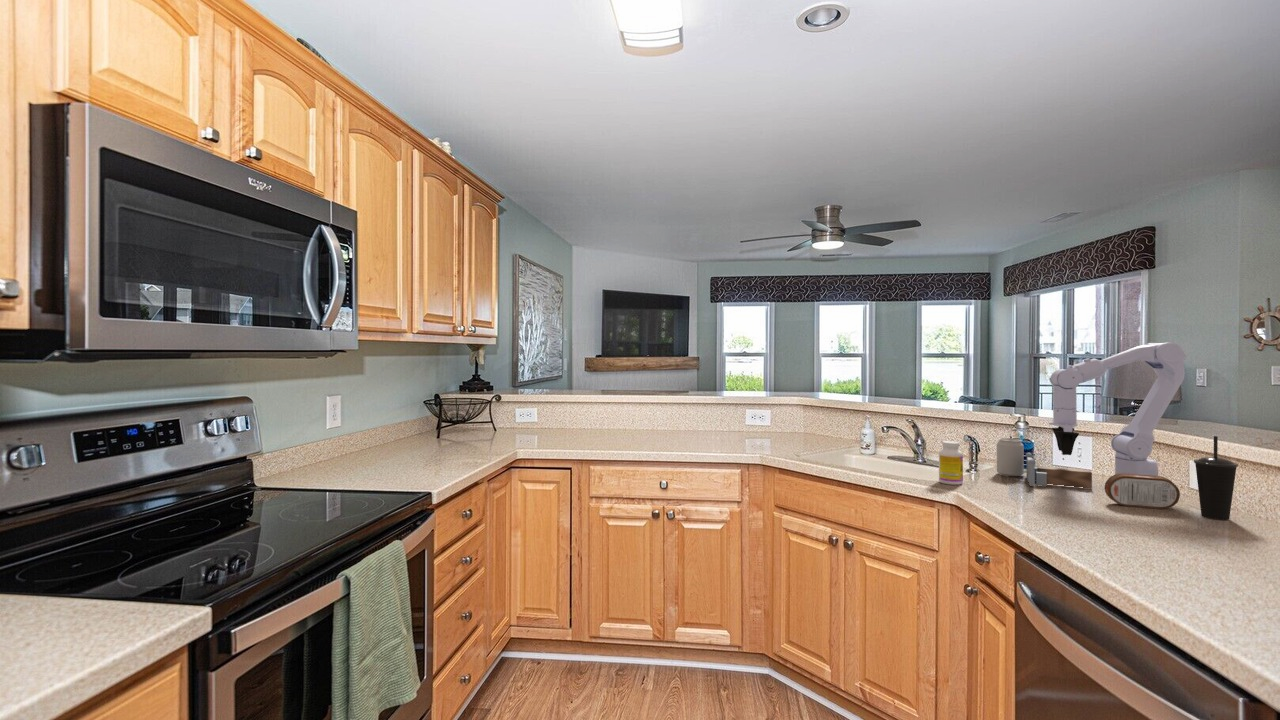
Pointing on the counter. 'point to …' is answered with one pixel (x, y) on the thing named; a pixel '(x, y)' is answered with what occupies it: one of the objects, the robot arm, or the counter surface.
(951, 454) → the supplement bottle
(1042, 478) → the grey blocky bracket
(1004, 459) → the can
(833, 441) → the counter surface
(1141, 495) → the tin
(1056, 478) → the rail
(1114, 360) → the robot arm
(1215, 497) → the drinking cup
